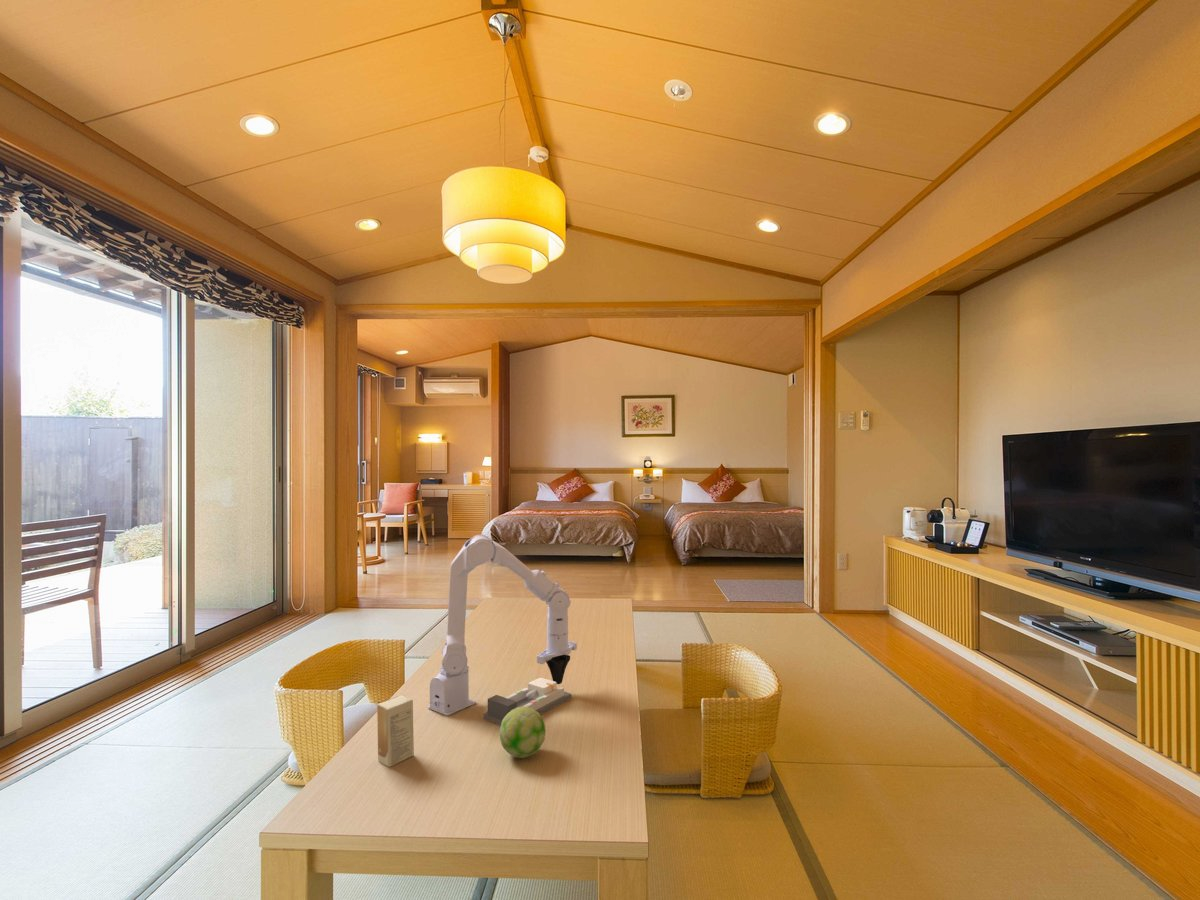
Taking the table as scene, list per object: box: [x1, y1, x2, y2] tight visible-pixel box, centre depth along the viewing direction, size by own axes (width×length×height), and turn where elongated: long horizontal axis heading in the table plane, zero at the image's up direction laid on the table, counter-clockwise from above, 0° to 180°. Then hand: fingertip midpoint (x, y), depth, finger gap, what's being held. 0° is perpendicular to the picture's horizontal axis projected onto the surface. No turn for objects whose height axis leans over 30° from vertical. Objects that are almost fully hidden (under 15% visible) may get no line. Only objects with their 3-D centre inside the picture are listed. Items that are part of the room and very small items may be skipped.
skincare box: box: [376, 694, 415, 768], centre depth 124 cm, size 6×4×12 cm
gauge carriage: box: [526, 677, 558, 699], centre depth 151 cm, size 8×7×4 cm
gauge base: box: [482, 686, 572, 726], centre depth 148 cm, size 22×10×5 cm, turn 144°
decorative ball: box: [499, 707, 546, 759], centre depth 125 cm, size 10×10×10 cm
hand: (557, 682), depth 157 cm, fingers closed
